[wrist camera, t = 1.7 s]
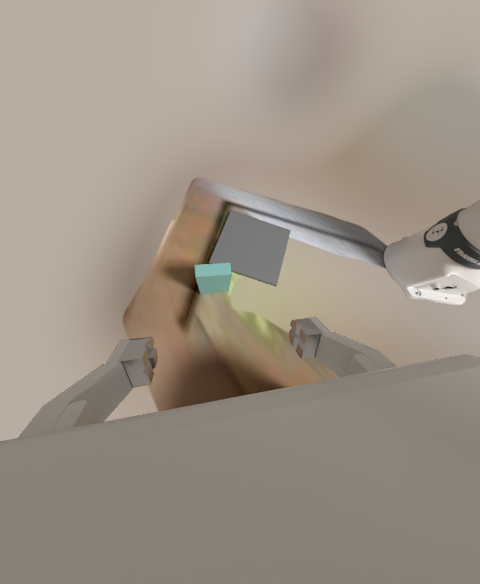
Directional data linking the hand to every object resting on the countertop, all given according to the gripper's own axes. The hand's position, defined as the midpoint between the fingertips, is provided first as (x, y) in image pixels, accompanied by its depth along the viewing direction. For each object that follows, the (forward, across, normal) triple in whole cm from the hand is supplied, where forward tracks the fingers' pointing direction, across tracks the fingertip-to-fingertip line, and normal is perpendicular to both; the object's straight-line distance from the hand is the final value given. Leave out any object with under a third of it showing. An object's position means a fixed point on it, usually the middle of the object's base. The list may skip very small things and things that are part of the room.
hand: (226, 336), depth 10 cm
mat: (+34, -10, +2) cm, 35 cm away
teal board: (+27, 0, +9) cm, 28 cm away
